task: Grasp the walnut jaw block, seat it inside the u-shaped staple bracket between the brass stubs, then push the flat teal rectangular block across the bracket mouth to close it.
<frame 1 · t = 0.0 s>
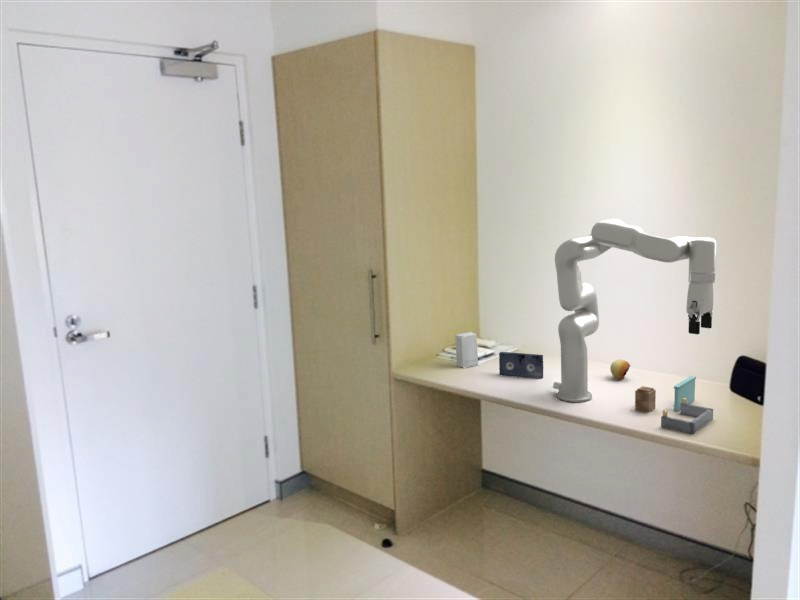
hand: (700, 330, 204), 31 cm above the worktop, fingers open, 9 cm apart
jaw block: (645, 409, 225), on the worktop
vhs cassette tape: (521, 377, 270), on the worktop
skincare box: (467, 366, 290), on the worktop
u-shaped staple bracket: (686, 422, 211), on the worktop
fruit: (620, 379, 260), on the worktop
flat teal rectangular block: (684, 393, 226), point 5 cm above the worktop, slide at 15.5 cm
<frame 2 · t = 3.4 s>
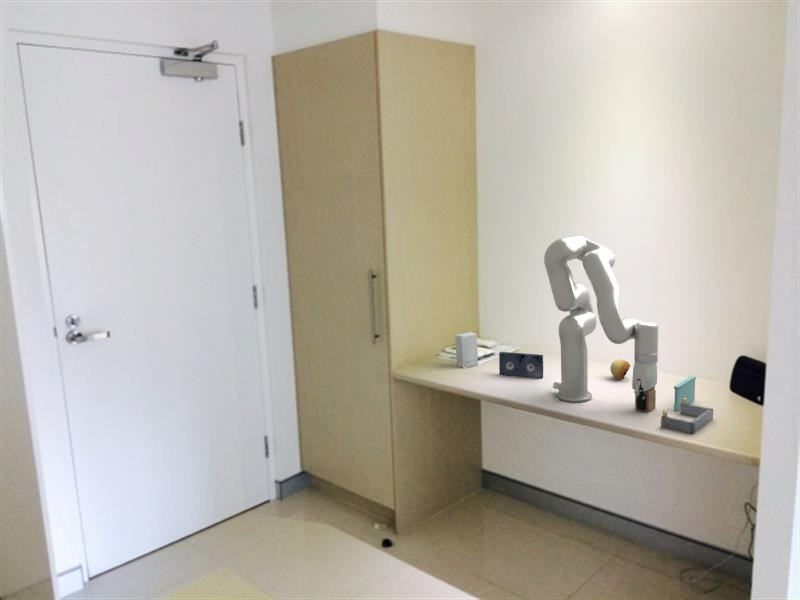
hand: (645, 406, 225), 1 cm above the worktop, fingers closed on jaw block, 5 cm apart
jaw block: (645, 409, 225), on the worktop, touching gripper
everything else where it was.
when the fingers open (3 cm above the worktop, at t = 7.9 s): jaw block drops 2 cm, on the worktop.
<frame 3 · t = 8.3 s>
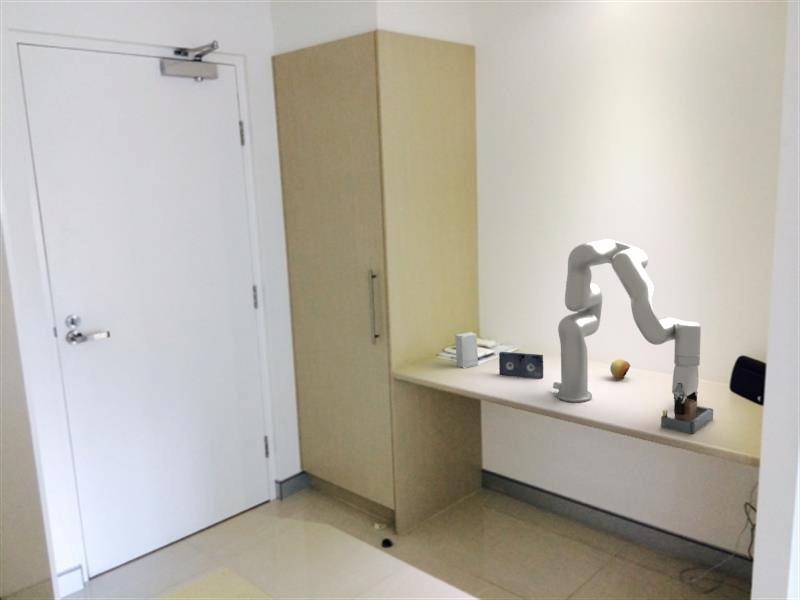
hand: (685, 410, 211), 4 cm above the worktop, fingers open, 9 cm apart
jaw block: (685, 422, 211), on the worktop
everything else where it was.
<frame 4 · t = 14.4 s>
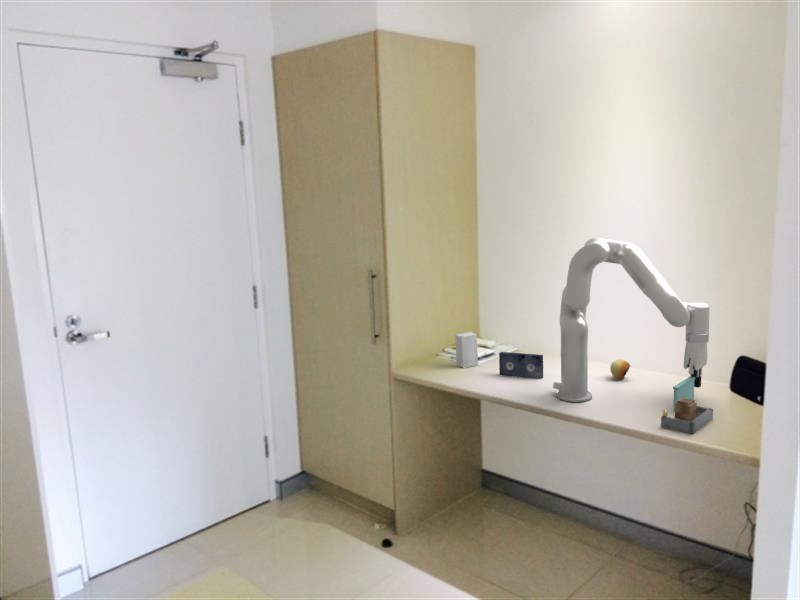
hand: (695, 386, 232), 5 cm above the worktop, fingers closed
flat teal rectangular block: (684, 393, 225), point 5 cm above the worktop, slide at 14.8 cm, touching gripper
everything else where it was.
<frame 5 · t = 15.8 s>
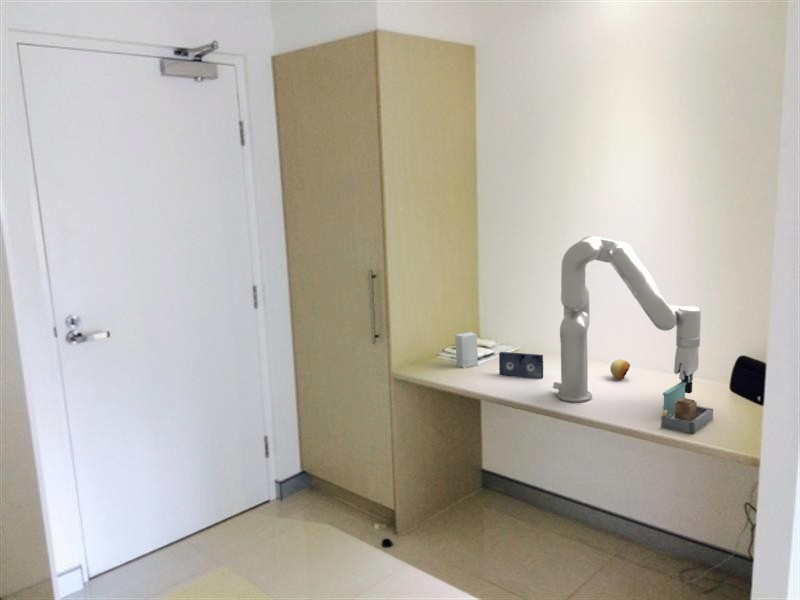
hand: (686, 392, 227), 5 cm above the worktop, fingers closed
flat teal rectangular block: (674, 399, 220), point 5 cm above the worktop, slide at 6.8 cm, touching gripper
everything else where it was.
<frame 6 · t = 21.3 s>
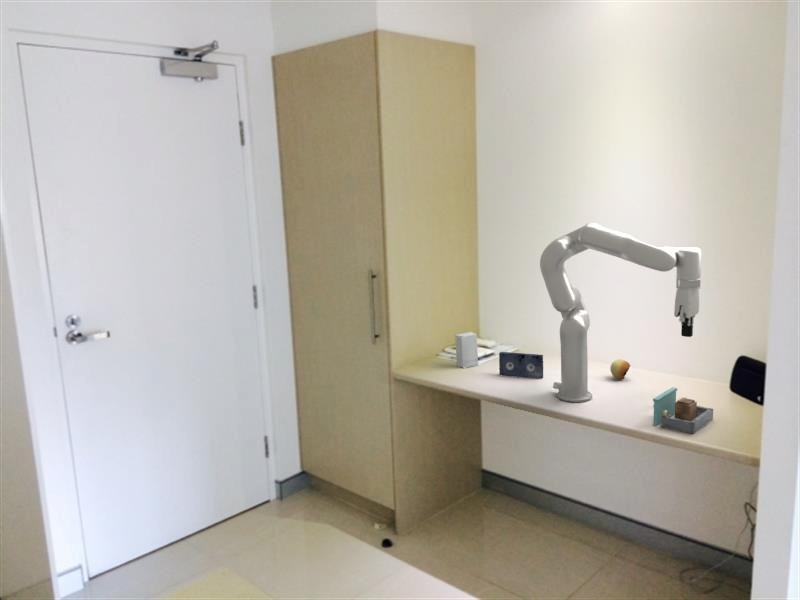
hand: (686, 336, 223), 25 cm above the worktop, fingers closed
flat teal rectangular block: (665, 405, 215), point 4 cm above the worktop, slide at -0.7 cm
everything else where it was.
at the end: jaw block inside the target area (0.3 cm from its centre), on the worktop; jaw block tilted 0°; flat teal rectangular block slide at -0.7 cm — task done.
